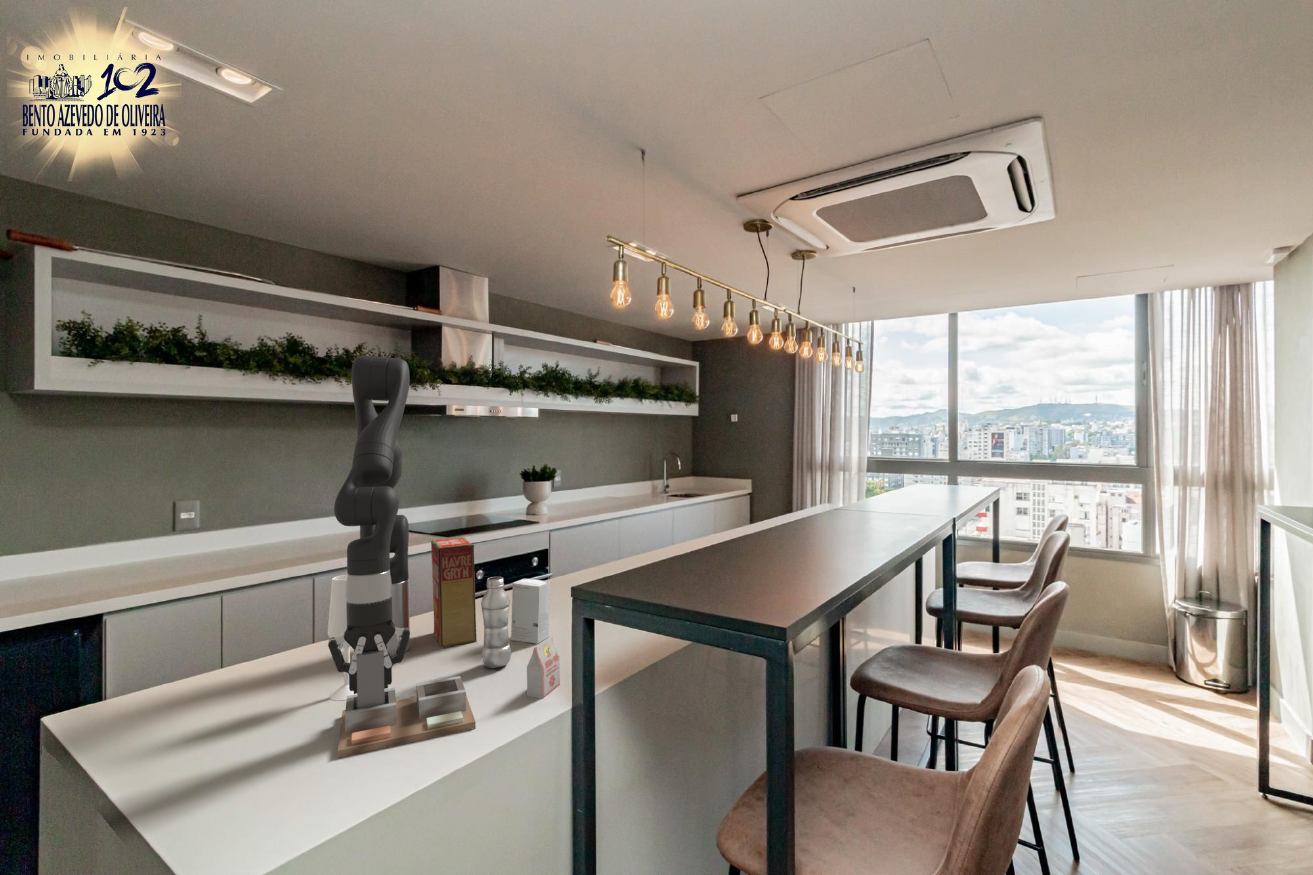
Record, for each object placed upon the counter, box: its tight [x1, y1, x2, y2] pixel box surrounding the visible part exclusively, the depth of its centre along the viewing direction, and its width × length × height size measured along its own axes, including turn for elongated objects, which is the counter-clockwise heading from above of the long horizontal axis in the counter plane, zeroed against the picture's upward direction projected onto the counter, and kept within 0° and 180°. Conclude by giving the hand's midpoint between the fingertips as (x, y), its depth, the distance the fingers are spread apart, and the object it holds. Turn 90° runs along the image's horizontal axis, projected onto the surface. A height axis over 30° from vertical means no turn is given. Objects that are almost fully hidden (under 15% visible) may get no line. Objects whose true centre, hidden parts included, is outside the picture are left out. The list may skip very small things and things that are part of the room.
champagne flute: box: [327, 574, 356, 701], centre depth 124 cm, size 7×7×24 cm
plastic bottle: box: [480, 576, 512, 669], centre depth 138 cm, size 6×7×20 cm
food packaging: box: [430, 536, 477, 649], centre depth 157 cm, size 13×9×25 cm
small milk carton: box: [526, 636, 561, 699], centre depth 124 cm, size 4×7×10 cm, turn 160°
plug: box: [356, 650, 385, 709], centre depth 110 cm, size 4×4×10 cm
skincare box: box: [510, 578, 551, 645], centre depth 155 cm, size 8×6×15 cm
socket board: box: [337, 675, 476, 759], centre depth 111 cm, size 22×16×5 cm
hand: (371, 689), depth 110 cm, fingers closed on plug, 4 cm apart
